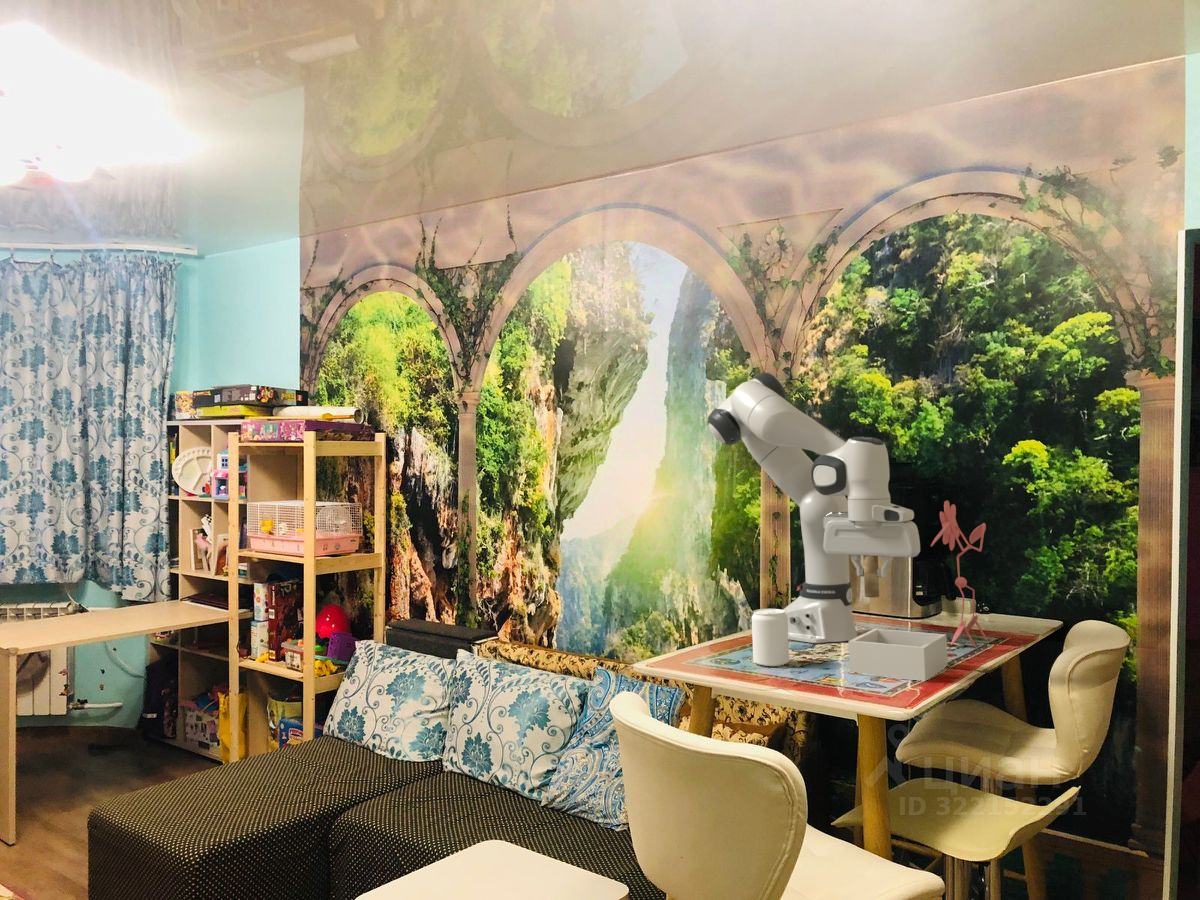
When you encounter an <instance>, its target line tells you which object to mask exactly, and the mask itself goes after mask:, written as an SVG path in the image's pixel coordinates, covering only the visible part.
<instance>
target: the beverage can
mask: <svg viewBox="0 0 1200 900" xmlns="http://www.w3.org/2000/svg"><path fill="white" fill-rule="evenodd" d="M751 631H752V632H751V634H752V658H753V659H752V661H753V663H755V664H757V665H758V664H759V665H758V666H760V665H764V666H763V667H765V666H778V667H781V666H780V665H783V666H785V665H786V664H788V663H790V652H789V651H790V648H789V647H790V646H789V639H788V618H787V615H786V614H785V611H784V610H783V609H780V608H760V609H756V610H753V614H752V616H751ZM784 664H785V665H784Z"/></svg>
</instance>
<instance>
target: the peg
mask: <svg viewBox="0 0 1200 900" xmlns="http://www.w3.org/2000/svg"><path fill="white" fill-rule="evenodd" d="M862 556H863V557H862V558H863V567H864V577H863V584H864V585H863V588H864V589H863V591H864V597H866V598H880V577H877V569H879V556H870V555H865V556H864V555H862Z"/></svg>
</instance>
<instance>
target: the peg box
mask: <svg viewBox="0 0 1200 900" xmlns="http://www.w3.org/2000/svg"><path fill="white" fill-rule="evenodd" d="M947 643H948V642H947V634H945V633H933V632H921V631H912V630H911V631H908V630H899V629H898V630H896V629H884V628H883V629H882V628H873V629H871V630H869V631H866V632H865V633H864V632H863V634H861V635H858V637H856V638H854V639H852V640H848V661H849V664H848V665H849V666H848V667H849V673H850V672H857V673H867V674H875V675H882V676H888V677H895V678H905V679H913V680H919V681H920V680H921V681H926V680H927V679H929V678H930V677H932V676H933V677H935V676H936V675H938V674H939V673H941V672H942V671H943V670H945V669H946V668H947V667H946V666H948V644H947ZM945 667H946V668H945ZM944 668H945V669H944ZM942 669H943V670H942ZM941 670H942V671H941ZM938 672H939V673H938ZM937 673H938V674H937ZM935 674H936V675H935ZM934 675H935V676H934ZM933 677H932V678H933ZM929 680H930V679H929ZM926 682H927V681H926Z"/></svg>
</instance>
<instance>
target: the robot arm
mask: <svg viewBox="0 0 1200 900" xmlns="http://www.w3.org/2000/svg"><path fill="white" fill-rule="evenodd" d="M707 425H708V429H709V431H710V433H711V435H712V436H713V437H714V438H715V439H716V440H717V441H718V442H720V443H722V445H723V444H724V445H726V446H732V445H736V444H737V443H739V442H741V441H742V442H743V444H744V446H745V448H746V449H747V451H748V452H749V453H750V455H751V456H752V458H753V459H754V460H755V461H756V463H757V464H758V465H759V466H760V468H761V469H762V470H763V471H764V472H765V473H766V474H767V475H768V477H769V478H770V479H771V480H772V481H773V483H774V484H775V485H776V486H777V487H778V488H779V489H780V490H781V491H782V492H783V493H784V494H786V495H787V496H788V497H789V498H790V500H792V501H793V503H795V504H796V505H797V506H798V507H799V517H800V527H801V528H800V529H801V536H802V544H803V554H804V570H805V571H804V572H805V573H804V574H805V581H804V582H803V583H801V584H799V585H797V586H796V588H797V589H796V591H799V596H798V597H797V598H795V599H794V600H793V601H792V602H791V603H790V604H788V605H786V606H785V607H784V608H783V609H782V610H784V611H785V614H786V615H787V618H788V640H791V641H798V642H806V643H812V644H823V643H835V642H837V643H838V642H847V641H848V642H849V641H850V640H852V639H854V638H856V637H858V636H859V634H858V632H857V628H856V625H855V622H854V616H853V615H854V614H853V610H852V609H853V608H852V604H853V590H852V582H851V581H850V565H849V564H850V563H849V562H850V561H851V562H852V564H853V565H854V567H855V569H856V576H857V577H863V578H864V566H862V564H861V561H860V560H861V559H862V557H861V556H863V555H864V556H865V555H870V556H878V557H880V558H881V562H883V563H882V565H881V567H880V568H879V567H878V569H877V577H879V578H887V569H888V567H889V566H890V563H891V562H892V557H895V558H896V557H897V558H916V557H918V556H919V554H920V552H921V541H920V534H919V530H918V526H917V524H916V523H915V522H913V521H912V520H913V519H914V518H915V512H914V510H913V509H910V508H906V507H903V506H901V505H897V504H894V503H891V494H890V492H889V481H890V463H889V462H890V461H889V453H888V449H887V447H886V444H885V442H884V441H883V440H881V439H879V438H875V437H871V436H853V437H850V438H848V439H847V440H846V439H845V438H843V437H842V436H841V435H839V434H837V433H836V432H835V431H833V430H831V429H830V428H828V427H827V426H825V425H823V424H822V423H820V422H818V421H817V420H815V419H814V418H812V417H811V416H809V415H808V414H806V413H805V412H803V411H801V410H799V409H798V408H797V407H795V406H794V405H793V404H791V403H790V402H789V401H788V400H787V391H786V390H785V387H784V384H782V382H781V380H779V379H778V377H775V376H774V375H773V374H772V373H769V372H765V371H764V372H760V373H758V374H756V375H754V376H753V377H752V378H751V379H750V380H748V381H745V382H742V383H740V384H739V385H738V386H737V387H736V388H735V389H734V390H733V392H732V394H730V395H729V396H728V397H727V398H725V399H724V400H723V402H721V404H719V405H718V406H717V407H716V408H714V409H713V410H712V411H711V412H710V414H709V415H708V417H707ZM804 450H807V451H811V452H813V453H816V454H818V455H819V456H818V457H817V458H816V459H815V460H814V461H813V460H812V459H811V458H810V457H809V456H808V455H807V454H806V453H805V451H804ZM846 496H847V497H846ZM849 556H850V561H849Z"/></svg>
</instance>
